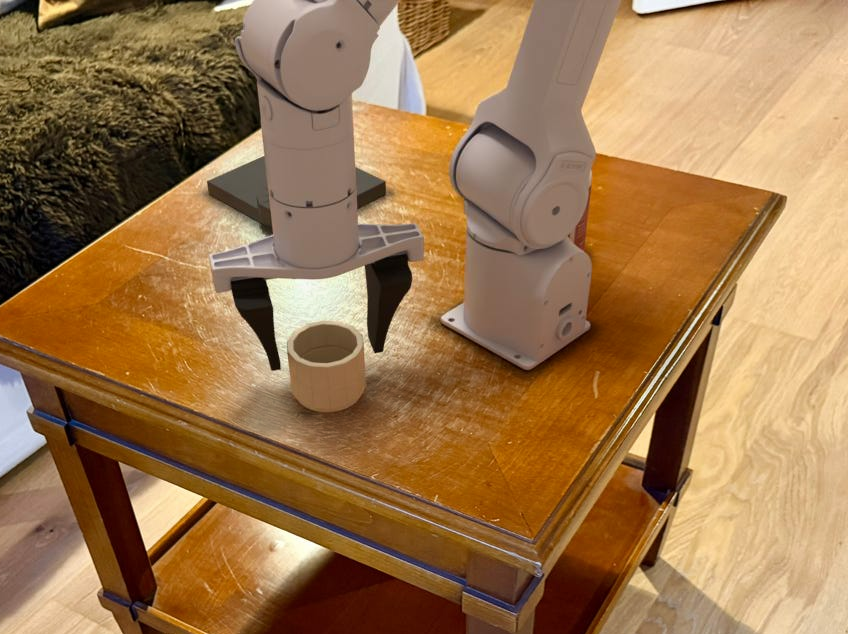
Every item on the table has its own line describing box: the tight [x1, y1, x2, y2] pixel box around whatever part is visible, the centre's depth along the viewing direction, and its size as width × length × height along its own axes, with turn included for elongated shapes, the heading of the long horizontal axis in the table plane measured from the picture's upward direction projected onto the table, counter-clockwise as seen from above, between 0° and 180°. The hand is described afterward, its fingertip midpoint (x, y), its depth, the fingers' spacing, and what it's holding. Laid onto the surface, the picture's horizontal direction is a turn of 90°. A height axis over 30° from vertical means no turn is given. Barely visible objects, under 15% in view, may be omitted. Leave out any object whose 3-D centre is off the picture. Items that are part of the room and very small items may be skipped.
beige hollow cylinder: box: [286, 320, 367, 413], centre depth 76 cm, size 6×6×4 cm
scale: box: [206, 155, 387, 231], centre depth 98 cm, size 14×13×3 cm
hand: (325, 353), depth 75 cm, fingers open, 7 cm apart
